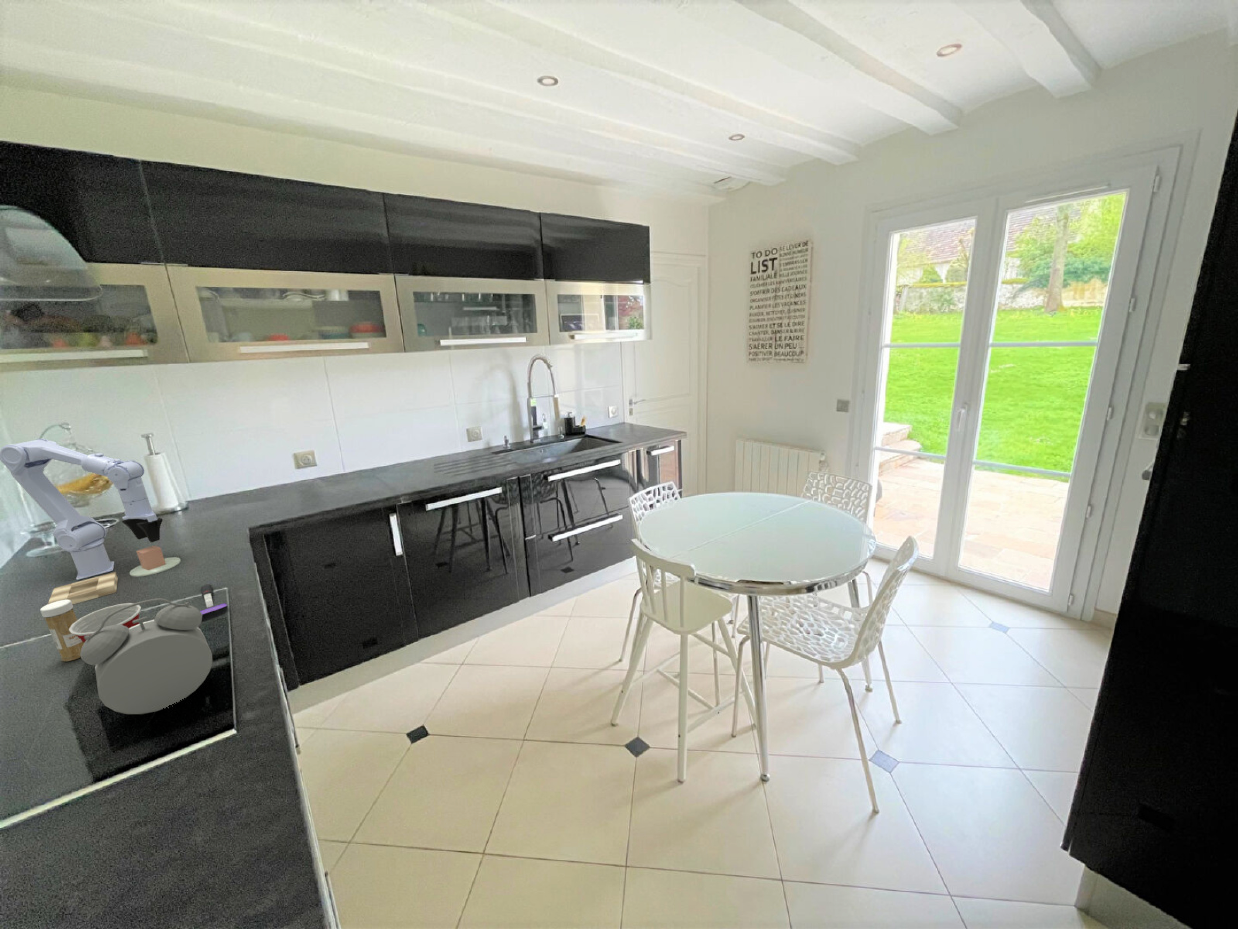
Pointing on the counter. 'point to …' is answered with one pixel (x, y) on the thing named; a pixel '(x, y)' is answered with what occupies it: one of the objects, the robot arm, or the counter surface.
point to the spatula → (209, 599)
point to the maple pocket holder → (86, 589)
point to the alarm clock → (149, 659)
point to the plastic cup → (94, 619)
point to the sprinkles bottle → (63, 628)
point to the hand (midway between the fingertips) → (148, 539)
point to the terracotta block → (151, 557)
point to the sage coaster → (143, 572)
